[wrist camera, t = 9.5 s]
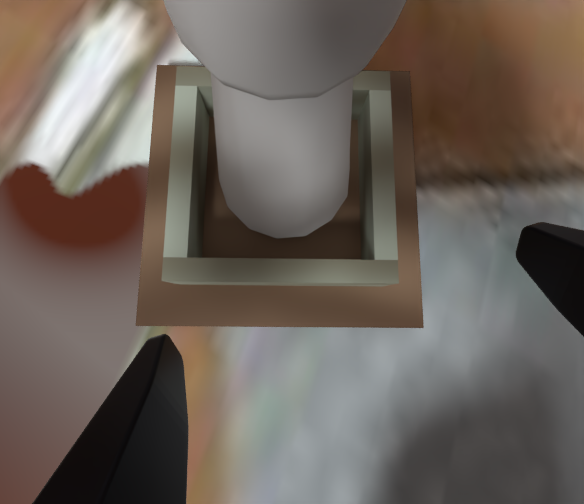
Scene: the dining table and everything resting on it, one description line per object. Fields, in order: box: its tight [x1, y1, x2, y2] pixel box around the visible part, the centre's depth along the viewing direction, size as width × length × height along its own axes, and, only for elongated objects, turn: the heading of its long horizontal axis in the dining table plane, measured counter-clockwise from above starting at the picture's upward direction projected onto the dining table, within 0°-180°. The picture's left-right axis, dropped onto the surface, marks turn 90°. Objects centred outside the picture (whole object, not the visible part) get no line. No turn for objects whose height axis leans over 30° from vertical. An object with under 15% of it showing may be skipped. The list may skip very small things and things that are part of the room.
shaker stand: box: [136, 65, 423, 328], centre depth 16 cm, size 14×14×4 cm
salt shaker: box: [164, 0, 407, 239], centre depth 11 cm, size 6×6×13 cm
